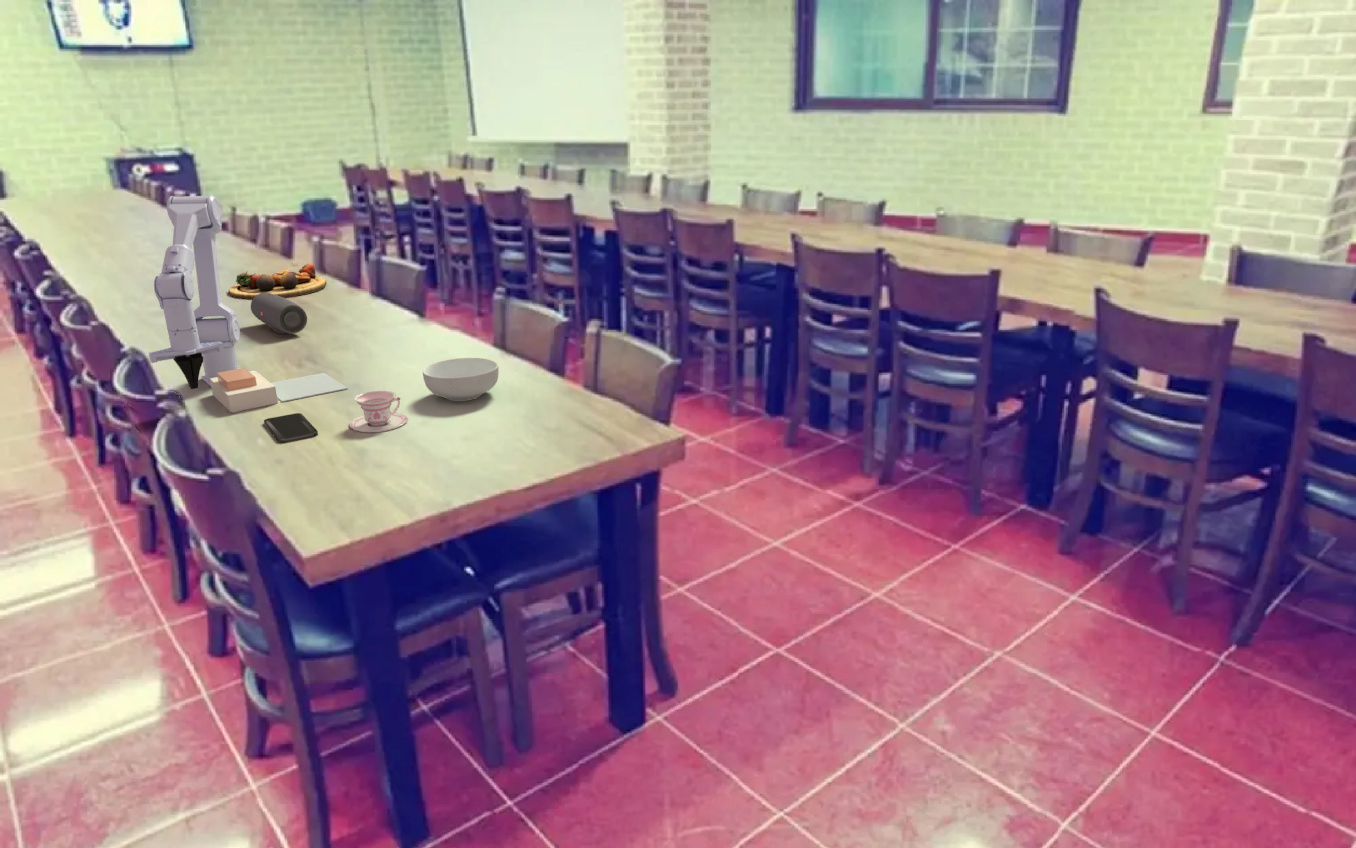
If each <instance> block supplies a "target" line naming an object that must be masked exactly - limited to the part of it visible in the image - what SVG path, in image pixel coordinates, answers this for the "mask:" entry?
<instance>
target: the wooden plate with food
mask: <svg viewBox="0 0 1356 848" xmlns="http://www.w3.org/2000/svg"><path fill="white" fill-rule="evenodd" d="M235 283H236V284H235V285H233V286H231V287H230V288H229V289H228V294H229V295H230V296H231V297H232V298H233V297H234V298H235V299H242V300H253V298H254V297H255V296H256V295H258V294H260V293H271V294H275V295H278V296H280V297H283V298H285V299H288V298H292V297H298V296H303V295H308V294H311V293H315V292H318V291H321V290H323V289H324V288H325V287H326V286H327V285H328V284H327V280H326V278H324V277H322V276H317V275H316V269H315V266H314V264H312V263H306V264H304V265H303V266H302V268H300V269H298V273H297V272H295V271H290V270H288V269H283V270H280V271H278V272H274V273H273V274H265V273H262V274H257V273H254V274H250V273H248V271H246V272H242V273H240V274H237V275H236V279H235Z"/></svg>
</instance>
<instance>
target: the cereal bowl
mask: <svg viewBox="0 0 1356 848" xmlns="http://www.w3.org/2000/svg"><path fill="white" fill-rule="evenodd" d="M422 377H423V381H424V384H425V386H426V388H427V389H428V390H429V392H431V393H432V394H434V395H435V396H438V397H442V398H444V399H445V398H446V399H447V400H448V401H452V402H468V401H472V399H473V400H476V399H478V398H480V397H481V396H482V395H483V394H485V393H487V392H489V391H490V390H491V389H492V388H494V387H495V385H496V384H497V382H498V380H499V365H498V362H496V361H494V360H492V359H488V358H482V357H461V358H460V357H459V358H451V359H450V358H449V359H444V360H440V361H436V362H434V363H433V362H432V363H430V364H429V365H426V366H425V367H424V369H422ZM475 398H476V399H475Z"/></svg>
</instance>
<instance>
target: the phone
mask: <svg viewBox="0 0 1356 848" xmlns="http://www.w3.org/2000/svg"><path fill="white" fill-rule="evenodd" d="M263 424H264V426H265V427H266V429H267V430H268V429H269V430H268V431H269V432H270V434H271V435H272V434H273V435H274V436H273V437H274V438H275V440H276V442H278V443H279V444H285V443H290V442H291V443H292V442H295V441H300V440H305V439H310V438H311V439H312V438H314V437H318V436H319V431H318V430H317V429H316V427H315V426H314V425H312V423H311V422H310V421H309V420H308V419H307V417H305V416H304V415H303V414H302V413H299V412H296V413H295V412H294V413H291V414H286V415H285V414H284V415H281V416H274V417H273V416H272V417H270V418H269V417H268V418H265V419H263Z"/></svg>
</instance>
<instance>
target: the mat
mask: <svg viewBox="0 0 1356 848" xmlns="http://www.w3.org/2000/svg"><path fill="white" fill-rule="evenodd" d="M271 383H272V384H273V385H274V386H275V388H276V394H277V400H278V401H280V402H281V403H285V402H286V401H287V402H291V401H296V400H301V399H305V398H310V397H315V396H321V395H325V394H326V395H327V394H331V393H336V392H340V391H345V390H348V389H349V388H348V387H347V386H345V385H344V384H343V383H341V382H339V381H338V380H336V379H335V378H333V377H332V376H330V375H329V374H327V373H326V372H321V373H316V374H315V373H314V374H311V375H310V374H309V375H305V376H304V375H303V376H300V377H293V378H290V379H283V380H278V381H271Z"/></svg>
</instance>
